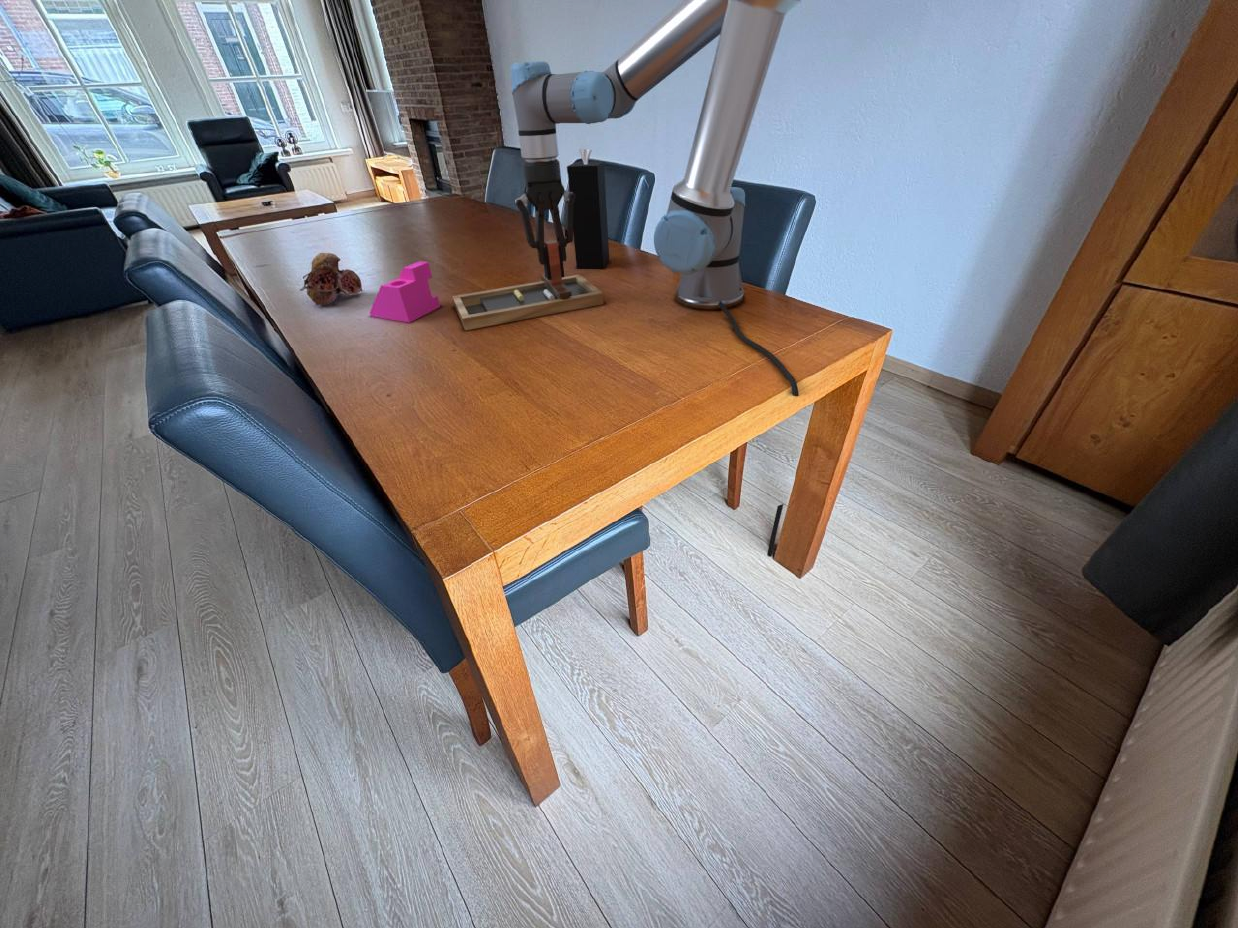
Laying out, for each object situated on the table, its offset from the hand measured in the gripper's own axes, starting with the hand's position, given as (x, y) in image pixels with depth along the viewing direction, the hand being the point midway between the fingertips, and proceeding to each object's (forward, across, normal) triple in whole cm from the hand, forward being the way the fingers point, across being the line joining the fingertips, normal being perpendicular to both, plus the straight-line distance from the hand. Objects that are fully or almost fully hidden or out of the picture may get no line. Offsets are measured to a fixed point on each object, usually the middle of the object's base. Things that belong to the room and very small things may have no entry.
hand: (554, 276), depth 115 cm
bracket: (+6, +34, -11) cm, 36 cm away
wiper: (+4, 0, 0) cm, 4 cm away
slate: (+6, +7, 0) cm, 9 cm away
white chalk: (+3, +2, +2) cm, 5 cm away
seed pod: (+6, +50, -28) cm, 58 cm away
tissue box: (+6, -18, -23) cm, 30 cm away
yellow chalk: (+3, +9, -1) cm, 9 cm away
